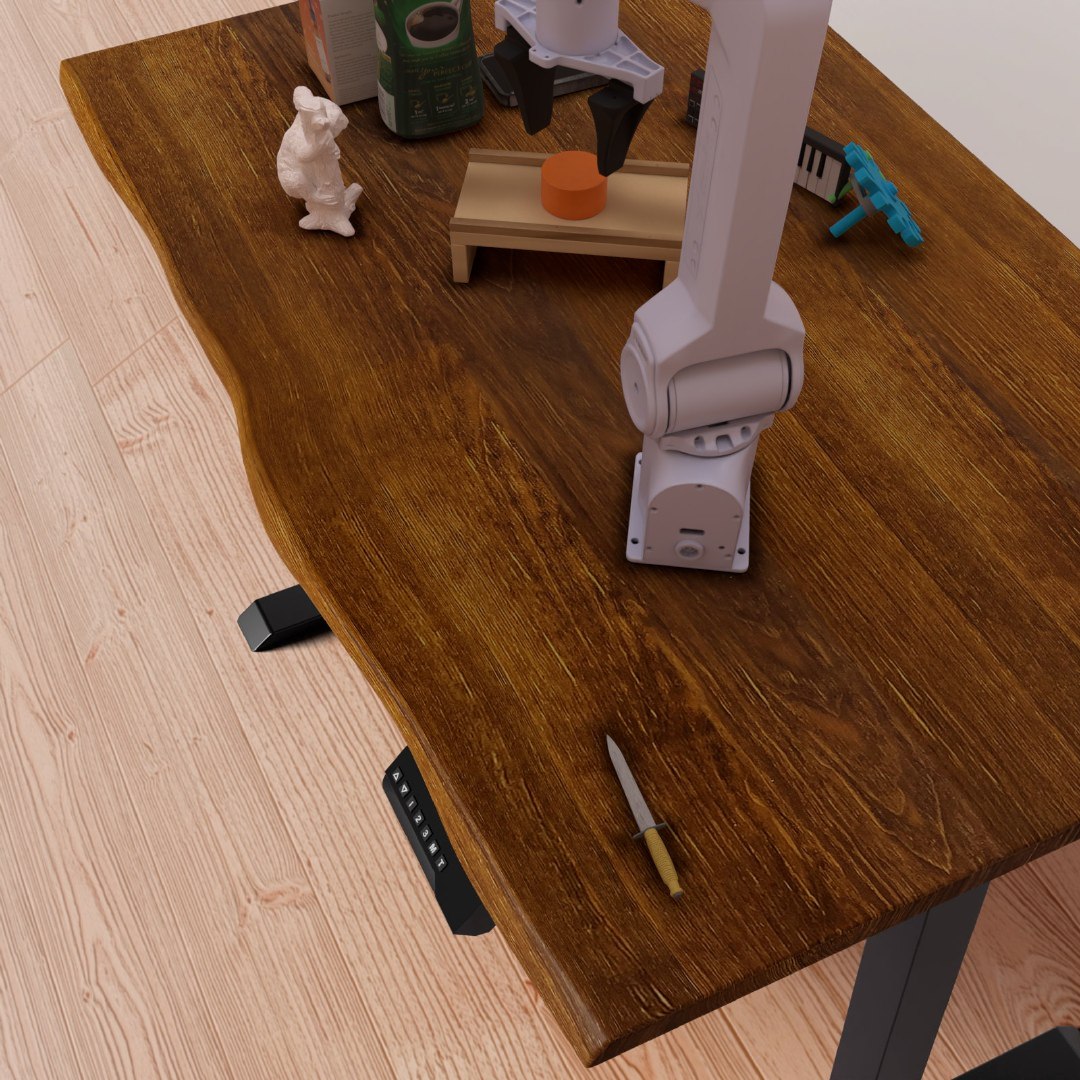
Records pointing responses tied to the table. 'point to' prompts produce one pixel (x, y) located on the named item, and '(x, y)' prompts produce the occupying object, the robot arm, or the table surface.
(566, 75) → the phone
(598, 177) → the disc
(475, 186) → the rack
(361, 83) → the small box
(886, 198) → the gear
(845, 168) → the midi keyboard
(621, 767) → the dagger
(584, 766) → the table surface
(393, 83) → the coffee jar
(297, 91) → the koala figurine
